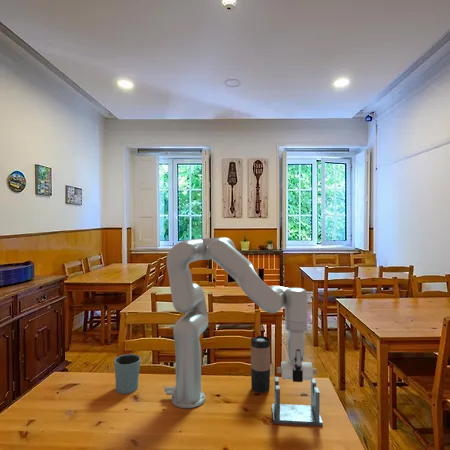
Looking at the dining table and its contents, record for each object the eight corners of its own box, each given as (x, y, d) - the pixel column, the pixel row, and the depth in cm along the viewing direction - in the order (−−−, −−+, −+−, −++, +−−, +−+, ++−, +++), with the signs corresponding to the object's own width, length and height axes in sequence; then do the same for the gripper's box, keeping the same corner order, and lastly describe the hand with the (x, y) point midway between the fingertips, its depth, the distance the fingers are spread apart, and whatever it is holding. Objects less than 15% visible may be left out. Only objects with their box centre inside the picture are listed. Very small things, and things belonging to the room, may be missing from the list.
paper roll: (277, 381, 114) (277, 365, 114) (276, 374, 120) (276, 358, 120) (317, 383, 113) (317, 366, 113) (314, 375, 118) (314, 359, 118)
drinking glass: (121, 381, 141) (121, 353, 141) (144, 383, 140) (144, 354, 140) (109, 394, 131) (109, 363, 131) (134, 396, 130) (134, 364, 130)
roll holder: (273, 423, 112) (273, 390, 112) (271, 406, 122) (271, 376, 122) (322, 426, 111) (322, 392, 110) (317, 409, 121) (317, 378, 120)
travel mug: (269, 394, 131) (269, 342, 131) (249, 392, 132) (249, 341, 132) (270, 385, 138) (270, 336, 138) (252, 383, 140) (252, 335, 140)
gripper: (283, 317, 125) (283, 366, 125) (287, 332, 108) (287, 389, 108) (303, 317, 124) (304, 366, 124) (311, 333, 107) (311, 390, 107)
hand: (296, 376), depth 116 cm, fingers closed on paper roll, 5 cm apart
